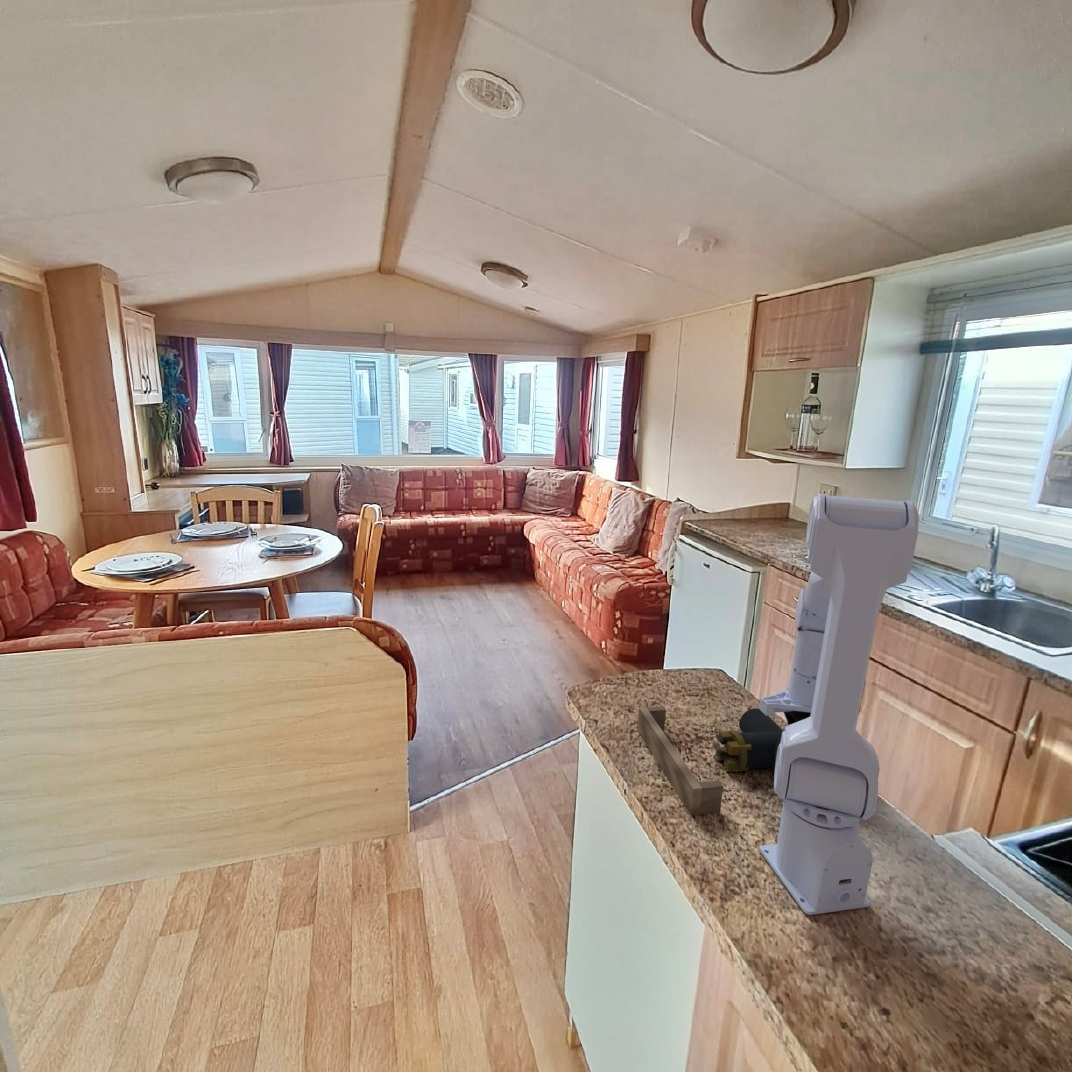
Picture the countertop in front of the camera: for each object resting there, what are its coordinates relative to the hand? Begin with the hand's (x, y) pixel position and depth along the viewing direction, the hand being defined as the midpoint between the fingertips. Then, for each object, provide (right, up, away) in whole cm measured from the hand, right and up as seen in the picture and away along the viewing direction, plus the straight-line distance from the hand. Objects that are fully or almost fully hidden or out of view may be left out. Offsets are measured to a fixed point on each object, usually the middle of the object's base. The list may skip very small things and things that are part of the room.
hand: (799, 752), depth 88 cm
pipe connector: (-7, -2, -1) cm, 7 cm away
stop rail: (-20, -1, -2) cm, 20 cm away
